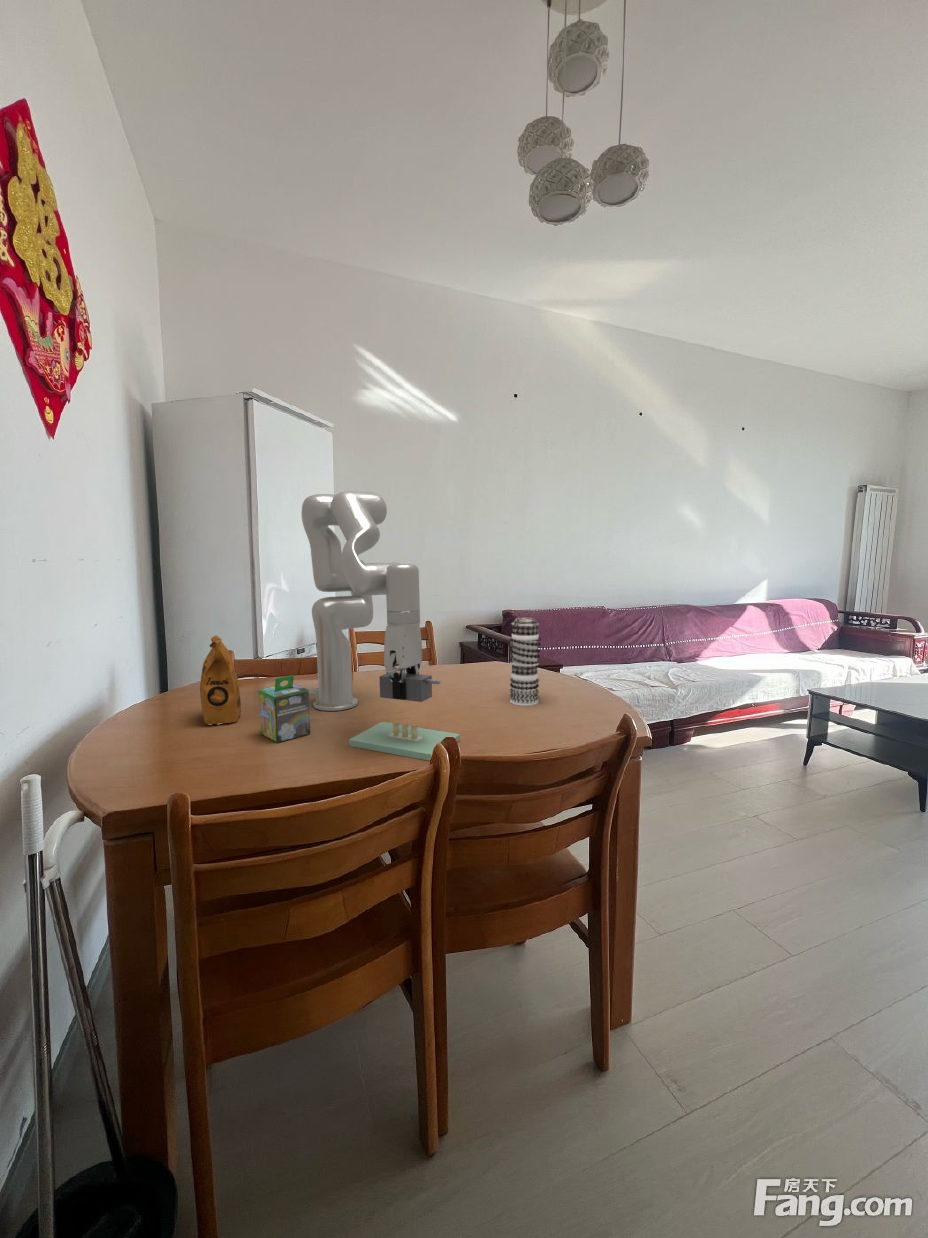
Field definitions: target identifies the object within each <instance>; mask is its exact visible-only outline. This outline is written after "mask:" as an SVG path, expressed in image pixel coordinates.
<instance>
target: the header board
mask: <svg viewBox="0 0 928 1238" xmlns="http://www.w3.org/2000/svg"><path fill="white" fill-rule="evenodd" d="M445 737H454V738H456V739H457V740H458V742H460V741H461V734H459V733H454V732H449V731H441V730H438V729H437V730H435V729H429V728H423V727H418V725H417V724H413V725H409V724H408V723H402V724H400V722H399V721H398V722H395V721H394V722H393V723H390V722H385V721H380V722H379V723H377V724H375V725H374V726H372V727H370V728H368V729H367V730H364V731H362V732H360V733H359V734H356V735H354V736H353V737H351V738H349V739H348V746H349V747H353V748H358V749H363V750H369V751H375V752H380V753H386V754H391V755H395V756H396V755H397V756H401V757H406V758H407V757H408V758H411V759H418V760H423V761H429V762H431V761H430V758H431V755H432V751H433V749H434V747H435V746H436V744H437V743H439V742H441V741H442V740H443V739H444V738H445Z"/></svg>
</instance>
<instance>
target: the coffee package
mask: <svg viewBox="0 0 928 1238" xmlns="http://www.w3.org/2000/svg"><path fill="white" fill-rule="evenodd" d="M210 639H211V643H210V644H209V648H210V651H209V652H208V653H207V655H206V656H205V658H204V661H203V663H202V669H201V676H200V683H199V684H200V686H199V693H200V702H201V703H200V704H201V709H202V716H203V721H204V724H206V725H207V724H218V723H231V722H236V721H237V720H238V721H239V718H240V716H241V714H242V703H241V702H242V700H241V692H240V685H239V680H238V675H237V671H236V667H235V664H234V660H233V657H232V655H231V653H230V650H229V649H228V648H227V647H226V646H225V645H224V643H223V642H222V640H223V639H222V638H221V637H220V636H218V635H213V636H211V638H210ZM238 721H237V722H238Z"/></svg>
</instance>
